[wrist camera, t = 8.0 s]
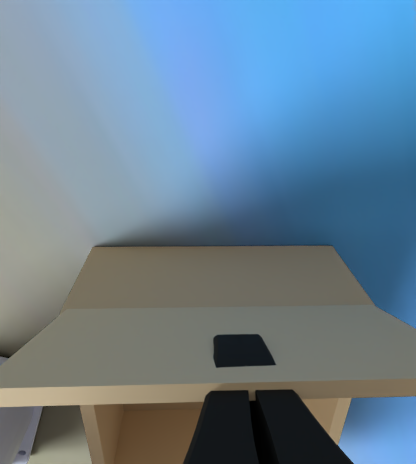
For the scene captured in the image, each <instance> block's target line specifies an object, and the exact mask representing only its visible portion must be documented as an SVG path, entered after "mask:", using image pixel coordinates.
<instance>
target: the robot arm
mask: <svg viewBox="0 0 416 464" xmlns="http://www.w3.org/2000/svg"><path fill="white" fill-rule="evenodd" d="M213 344H214V354H213V359H214V363H215V366H216V368H221V367H246V366H272V365H276V363H275V361H274V359H273V357H272V355H271V353H270V351H269V349H268V348H267V346H266V344H265V342H264V341H263V339H262V337H261V336H260V335H259V334H221V335H216V336H215V337H214V338H213ZM8 359H9V358H5V357H0V366H1V365H2V364H3V363H4V362H5V361H6V360H8ZM255 394H256V400H253V401H249V392H248V390H223V391H210V392H209V393H208V394H207V395H206V396H205V399H204V403H203V406H202V409H201V413H200V416H199V419H198V422H197V425H196V429H195V432H194V435H193V437H192V440H191V443H190V446H189V449H188V451H187V454H186V457H185V459H184V462H183V464H354V463H353V462H352V461H351V460H350V459H349V458H348V457H347V456H346V455H345V453H344V452H343V451H342V450H341V449H340V448H339V446H338V445H337V444H336V443H335V442H334V441H333V439H332V438H331V437H330V436H329V434H328V433H327V432H326V431H325V430H324V428H323V427H322V426H321V424H320V423H319V422H318V421H317V419H316V418H315V417H314V416H313V414H312V413H311V412H310V410H309V409H308V408H307V406H306V405H305V404H304V402H303V401H302V399H301V398H300V397H299V395H298V394H297V393H296V392H295V391H294V390H293V389H281V390H255ZM42 409H43V406H23V407H0V464H27V463H28V461H29V458H30V454H31V451H32V447H33V443H34V439H35V435H36V432H37V428H38V424H39V420H40V417H41V413H42Z"/></svg>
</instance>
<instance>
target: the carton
mask: <svg viewBox="0 0 416 464" xmlns="http://www.w3.org/2000/svg"><path fill="white" fill-rule="evenodd" d="M322 305H374V306H375V304H374V303H373V302H372V300H371V299H370V297H369V296H368V295H367V293H366V292H365V291H364V289H363V288H362V286H361V285H360V284H359V282H358V281H357V279H356V278H355V277H354V275H353V274H352V273H351V271H350V270H349V268H348V267H347V266H346V264H345V263H344V261H343V260H342V259H341V257H340V256H339V254H338V253H337V252H336V250H335V249H334V248H333V246H170V247H92V249H91V251H90V253H89V255H88V257H87V259H86V261H85V263H84V265H83V267H82V269H81V271H80V273H79V275H78V277H77V279H76V281H75V283H74V285H73V287H72V290H71V292H70V294H69V296H68V298H67V300H66V302H65V304H64V306H63V308H62V310H61V312H60V314H62V313H63V312H64V311H65V310H66V309H105V308H178V307H250V306H322ZM351 399H352V398H330V399H302V401H303V402H304V404H305V405H306V406H307V408H308V409H309V410H310V412H311V413H312V414H313V416H314V417H315V418H316V419H317V421H318V422H319V423H320V424H321V426H322V427H323V428H324V430H325V431H326V432H327V433H328V434H329V436H330V437H331V438H332V439H333V441H334V442H335V443H336V444H337V445H338V443H339V440H340V436H341V433H342V429H343V426H344V423H345V419H346V416H347V412H348V409H349V406H350V402H351ZM203 403H204V402H176V403H138V404H100V405H79V406H80V410H81V415H82V419H83V424H84V429H85V433H86V438H87V442H88V447H89V451H90V456H91V461H92V464H183V462H184V459H185V457H186V454H187V451H188V449H189V446H190V443H191V440H192V437H193V435H194V432H195V429H196V425H197V422H198V419H199V416H200V413H201V409H202V406H203Z"/></svg>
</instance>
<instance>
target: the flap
mask: <svg viewBox="0 0 416 464" xmlns="http://www.w3.org/2000/svg"><path fill="white" fill-rule="evenodd" d="M221 334H259V335H260V336H261V337H262V339H263V341H264V342H265V344H266V346H267V348H268V349H269V351H270V353H271V355H272V357H273V359H274V361H275V363H276V365H272V366H246V367H221V368H216V366H215V363H214V359H213V354H214V344H213V338H214V337H215V336H216V335H221ZM281 389H293V390H294V391H295V392H296V393H297V394H298V395H299V397H300V398H301V399H330V398H368V397H406V396H416V329H415V328H413V327H412V326H410V325H408V324H406V323H405V322H403V321H401V320H399V319H397V318H396V317H394V316H392V315H390V314H389V313H387V312H385V311H383V310H381V309H380V308H378V307H376V306H374V305H322V306H250V307H178V308H105V309H66V310H65V311H64V312H63V313H62V314H60V315H59V316H58V317H57V318H56V319H54V320H53V321H52V322H51V323H50V324H49V325H47V326H46V327H45V328H44V329H43V330H42V331H40V332H39V333H38V334H37V335H36V336H35V337H33V338H32V339H31V340H30V341H29V342H28V343H26V344H25V345H24V346H23V347H22V348H20V349H19V350H18V351H17V352H16V353H15V354H13V355H12V356H11V357H10V358H9V359H8V360H6V361H5V362H4V363H3V364H2V365H1V366H0V407H23V406H61V405H100V404H138V403H176V402H204V399H205V396H206V395H207V394H208V393H209V392H210V391H223V390H248V392H249V401H253V400H256V394H255V390H281Z"/></svg>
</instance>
